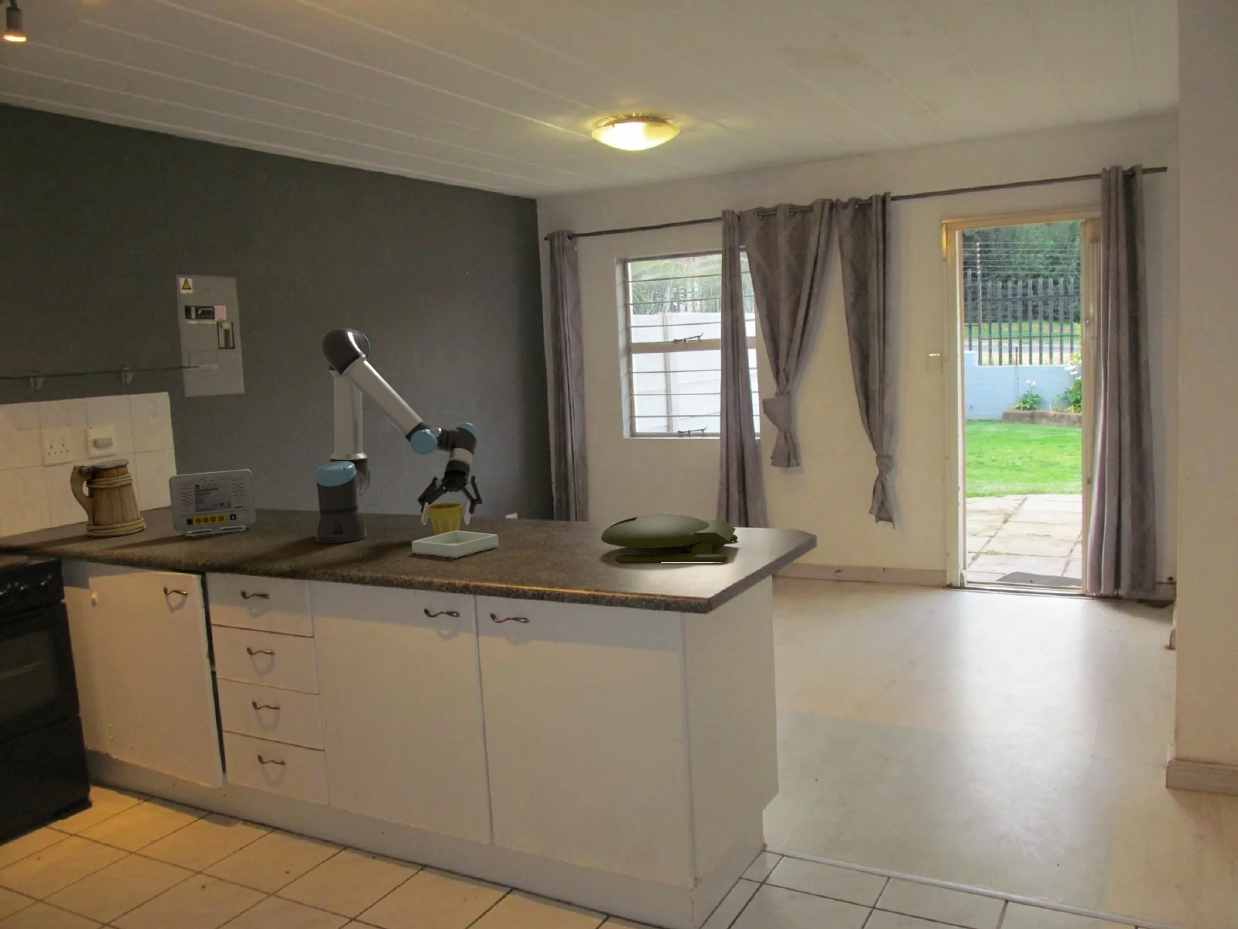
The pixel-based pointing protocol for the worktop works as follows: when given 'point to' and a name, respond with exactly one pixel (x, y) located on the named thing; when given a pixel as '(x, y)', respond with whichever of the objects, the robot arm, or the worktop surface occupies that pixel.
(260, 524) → the worktop surface
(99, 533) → the tankard
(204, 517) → the network device
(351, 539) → the robot arm
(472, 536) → the tray
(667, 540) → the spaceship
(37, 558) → the worktop surface
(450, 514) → the plant pot
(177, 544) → the worktop surface
